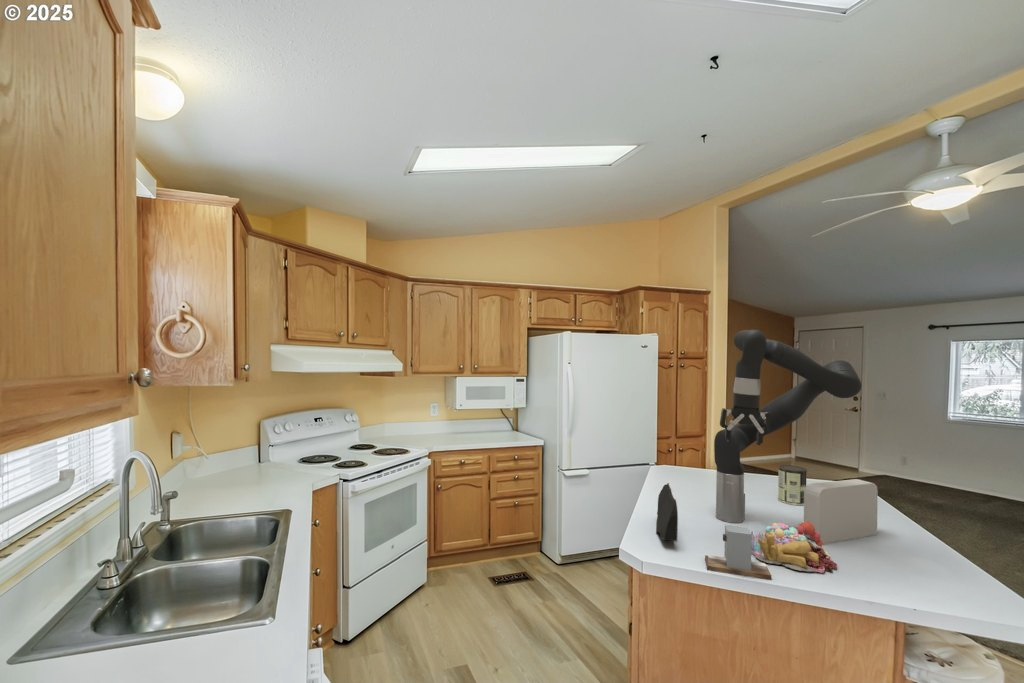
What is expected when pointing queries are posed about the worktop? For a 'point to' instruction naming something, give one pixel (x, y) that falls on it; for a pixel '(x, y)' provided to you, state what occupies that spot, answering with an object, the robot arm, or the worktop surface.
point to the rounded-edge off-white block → (841, 509)
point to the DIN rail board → (721, 566)
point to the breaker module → (737, 547)
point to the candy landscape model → (792, 548)
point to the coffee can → (791, 484)
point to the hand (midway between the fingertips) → (743, 443)
